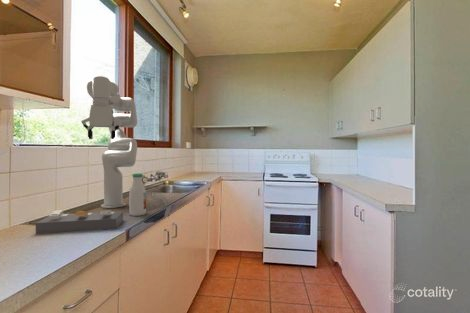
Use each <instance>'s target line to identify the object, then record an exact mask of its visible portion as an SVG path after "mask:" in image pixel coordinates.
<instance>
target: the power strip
mask: <svg viewBox="0 0 470 313" xmlns="http://www.w3.org/2000/svg"><path fill="white" fill-rule="evenodd" d="M75 213H76V212H75ZM75 213H63V214H62V215H61V217H60V218H59V219H49V215H48V216H47V217H44V218H43V219H41V220H39V221H37V222H35V234H36V233H39V234H52V233H68V232H69V233H70V232H84V231H102V230H117V229H118V227H119V226H120V225H121V224H122V222H123V221H124V211H120V210H118V211H111V214H100V211H97V212H93V211H92V212H88V215H76V216H75Z"/></svg>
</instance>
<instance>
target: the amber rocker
mask: <svg viewBox="0 0 470 313" xmlns="http://www.w3.org/2000/svg"><path fill="white" fill-rule="evenodd" d="M88 213H89V211H86V210H77V211H75V216H76V215H88Z"/></svg>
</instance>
